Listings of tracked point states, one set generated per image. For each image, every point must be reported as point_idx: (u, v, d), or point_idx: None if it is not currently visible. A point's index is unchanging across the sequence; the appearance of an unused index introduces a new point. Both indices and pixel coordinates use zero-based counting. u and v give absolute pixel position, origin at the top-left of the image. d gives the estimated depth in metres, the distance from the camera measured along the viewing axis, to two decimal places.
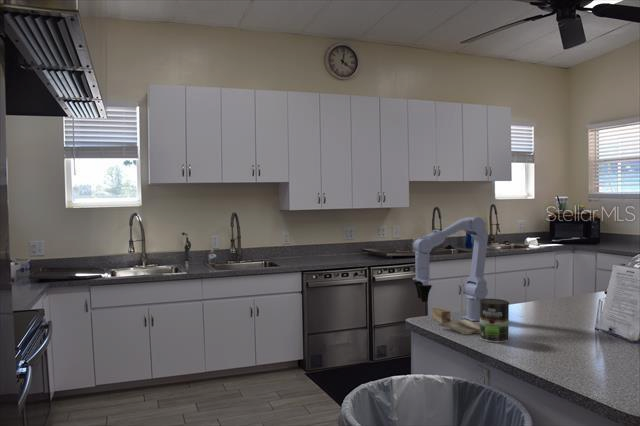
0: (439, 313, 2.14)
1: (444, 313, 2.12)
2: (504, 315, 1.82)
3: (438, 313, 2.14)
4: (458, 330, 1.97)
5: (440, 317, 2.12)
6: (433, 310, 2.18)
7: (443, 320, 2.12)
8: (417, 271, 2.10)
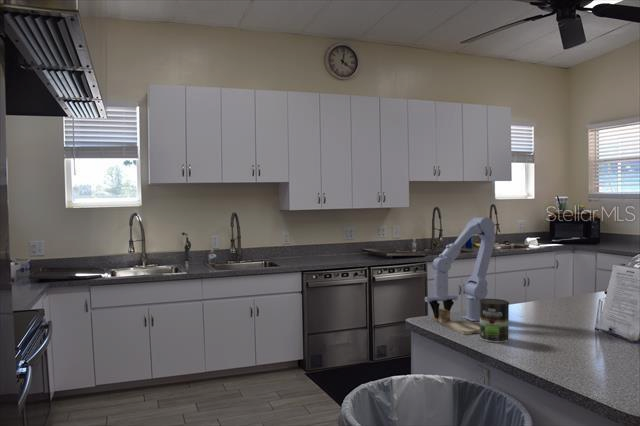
0: None
1: (444, 313, 2.12)
2: (504, 315, 1.82)
3: None
4: (458, 330, 1.97)
5: (440, 317, 2.12)
6: None
7: (443, 320, 2.12)
8: None
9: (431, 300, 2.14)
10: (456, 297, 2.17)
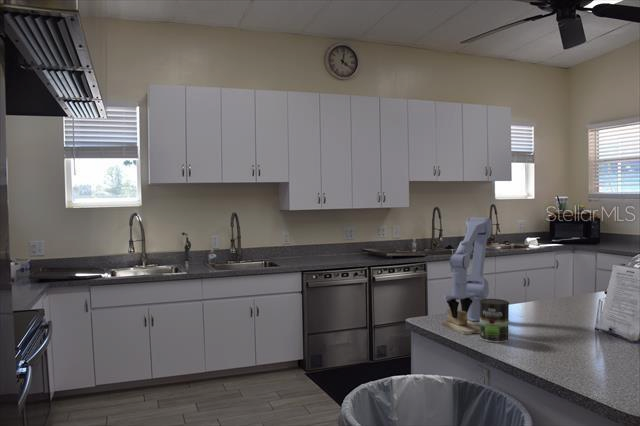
0: None
1: (461, 314, 2.03)
2: (504, 315, 1.82)
3: None
4: (458, 330, 1.97)
5: (457, 318, 2.04)
6: (448, 311, 2.09)
7: (460, 321, 2.03)
8: None
9: (450, 299, 2.03)
10: (474, 295, 2.07)
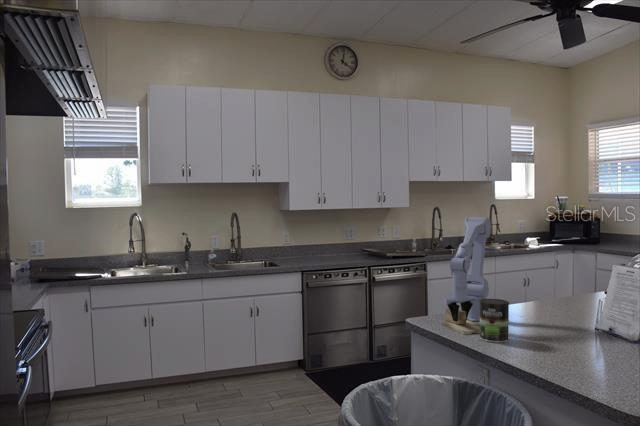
0: None
1: (460, 313, 2.04)
2: (504, 315, 1.82)
3: None
4: (458, 330, 1.97)
5: None
6: (447, 311, 2.10)
7: (459, 321, 2.04)
8: None
9: (450, 302, 2.03)
10: (474, 298, 2.07)
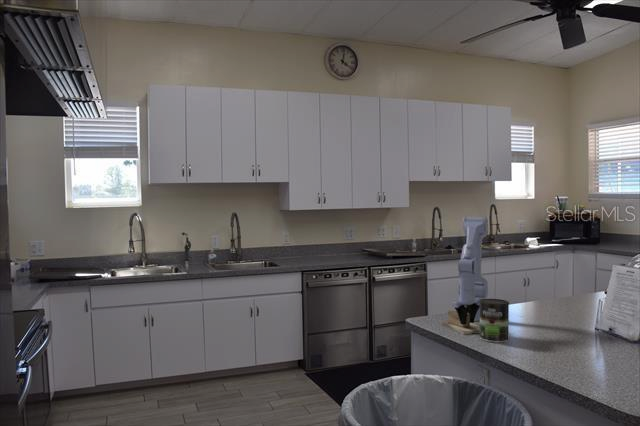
0: (458, 316, 2.02)
1: None
2: (504, 315, 1.82)
3: (457, 316, 2.02)
4: (458, 330, 1.97)
5: None
6: (449, 313, 2.06)
7: None
8: None
9: (459, 305, 1.97)
10: None
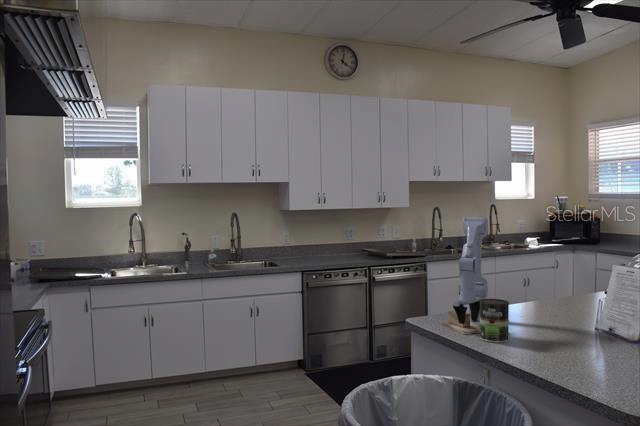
0: None
1: (465, 316, 2.00)
2: (504, 315, 1.82)
3: None
4: (458, 330, 1.97)
5: None
6: (449, 313, 2.06)
7: (464, 323, 2.00)
8: None
9: (460, 304, 1.97)
10: (480, 299, 2.03)
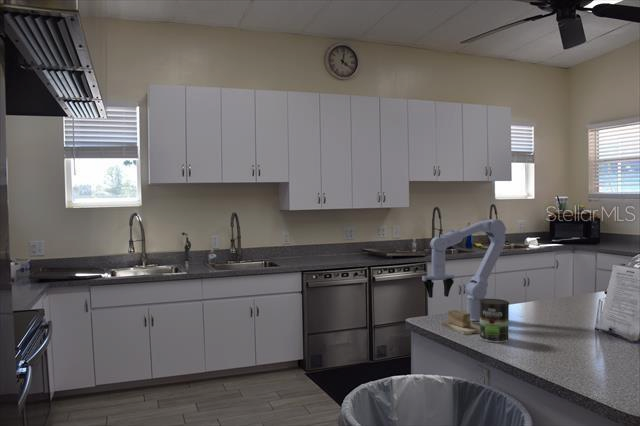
0: (458, 316, 2.01)
1: (465, 316, 2.00)
2: (504, 315, 1.82)
3: (457, 316, 2.02)
4: (458, 330, 1.97)
5: (460, 320, 2.00)
6: (449, 313, 2.06)
7: (464, 323, 2.00)
8: None
9: (428, 279, 2.16)
10: (453, 276, 2.19)
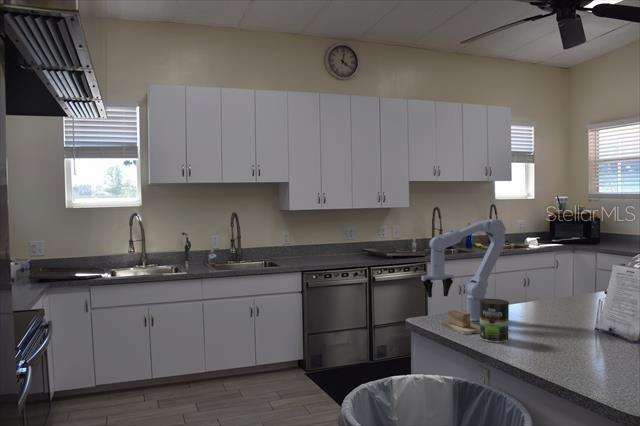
0: (458, 316, 2.01)
1: (465, 316, 2.00)
2: (504, 315, 1.82)
3: (457, 316, 2.02)
4: (458, 330, 1.97)
5: (460, 320, 2.00)
6: (449, 313, 2.06)
7: (464, 323, 2.00)
8: None
9: (428, 279, 2.17)
10: (452, 276, 2.19)
